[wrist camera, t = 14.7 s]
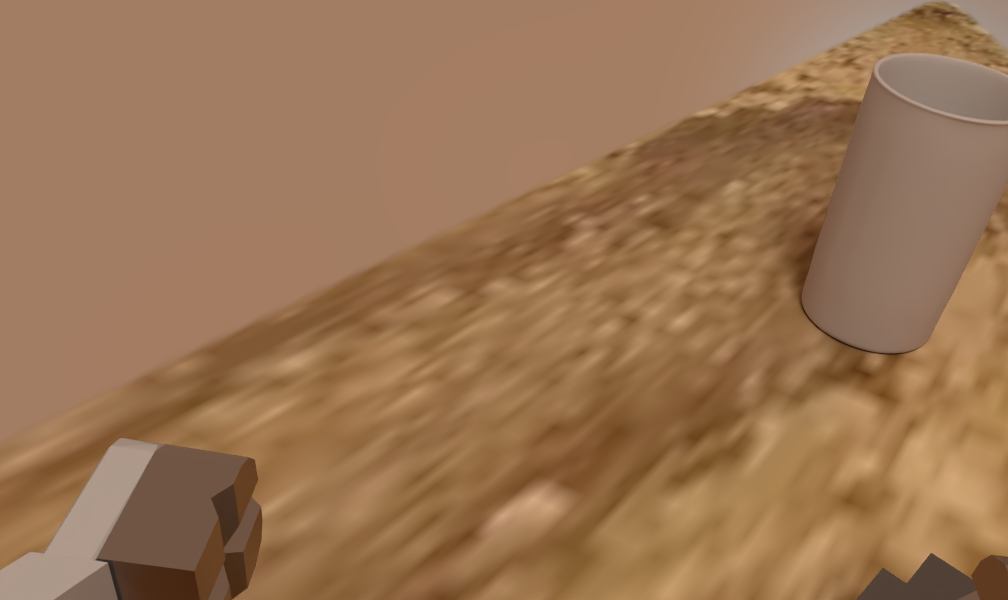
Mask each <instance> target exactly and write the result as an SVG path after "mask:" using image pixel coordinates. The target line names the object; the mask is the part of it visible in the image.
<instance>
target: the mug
mask: <svg viewBox="0 0 1008 600" xmlns="http://www.w3.org/2000/svg"><path fill="white" fill-rule="evenodd" d="M1007 184H1008V75H1006V74H1004V73H1002V72H1000V71H997V70H995V69H992V68H989V67H986V66H984V65H980V64H977V63H974V62H970V61H966V60H962V59H958V58H954V57H949V56H943V55H936V54H926V53H902V54H895V55H890V56H887V57H884V58H882V59H880V60H879V61H877V62H876V64H875V65H874V68H873V72H872V76H871V79H870V81H869V84H868V87H867V90H866V93H865V95H864V98H863V101H862V103H861V106H860V109H859V112H858V115H857V118H856V122H855V125H854V128H853V131H852V134H851V137H850V140H849V144H848V147H847V150H846V153H845V156H844V160H843V163H842V166H841V169H840V172H839V175H838V178H837V182H836V185H835V188H834V191H833V194H832V197H831V201H830V204H829V207H828V210H827V213H826V216H825V219H824V222H823V225H822V229H821V232H820V235H819V238H818V241H817V244H816V247H815V250H814V254H813V258H812V261H811V265H810V268H809V271H808V274H807V278H806V281H805V284H804V287H803V290H802V297H801V300H802V305H803V308H804V310H805V312H806V314H807V315H808V317H809V318H810V319H811V320H812V321H813V323H814V324H815V325H817V326H818V327H819V328H820V329H821V330H823V331H824V332H825V333H827V334H828V335H830V336H832V337H833V338H835V339H837V340H839V341H841V342H843V343H845V344H848V345H850V346H853V347H856V348H859V349H863V350H867V351H871V352H877V353H887V354H895V353H904V352H909V351H912V350H915V349H917V348H919V347H921V346H922V345H924V344H925V343H926V342H927V340H928V339H929V338H930V336H931V334H932V332H933V330H934V328H935V326H936V324H937V322H938V320H939V318H940V316H941V314H942V312H943V310H944V309H945V307H946V305H947V303H948V301H949V299H950V298H951V296H952V294H953V292H954V290H955V288H956V286H957V284H958V282H959V280H960V278H961V276H962V274H963V272H964V270H965V268H966V266H967V264H968V262H969V260H970V258H971V256H972V254H973V252H974V250H975V248H976V246H977V244H978V242H979V240H980V238H981V236H982V234H983V232H984V230H985V228H986V226H987V224H988V222H989V220H990V218H991V216H992V214H993V212H994V210H995V208H996V206H997V204H998V202H999V200H1000V198H1001V196H1002V194H1003V192H1004V190H1005V188H1006V186H1007Z"/></svg>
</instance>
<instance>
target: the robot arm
mask: <svg viewBox="0 0 1008 600" xmlns="http://www.w3.org/2000/svg"><path fill="white" fill-rule="evenodd" d="M257 481H258V476H257V470H256V464H255V460H254V459H252V458H249V457H243V456H237V455H230V454H224V453H218V452H212V451H205V450H199V449H193V448H186V447H180V446H174V445H168V444H158V443H152V442H145V441H138V440H132V439H125V438H120V439H119V440H118V441H116V442H115V443H114V444H113V445H112V446H110V447H109V448H108V449H107V451H106V453H105V454H104V456H103V457H102V459H101V461H100V462H99V464H98V465H97V467H96V469H95V470H94V472H93V474H92V475H91V477H90V478H89V480H88V482H87V483H86V485H85V487H84V488H83V490H82V491H81V493H80V495H79V496H78V498H77V499H76V501H75V503H74V504H73V506H72V508H71V509H70V511H69V512H68V514H67V516H66V517H65V519H64V521H63V522H62V524H61V525H60V527H59V529H58V530H57V532H56V533H55V535H54V537H53V538H52V540H51V542H50V543H49V545H48V546H47V548H46V550H45V551H44V553H39V552H28V553H27V554H25V555H24V556H22V557H20V558H19V559H17V560H16V561H14V562H12V563H11V564H9V565H7V566H6V567H4V568H3V569H1V570H0V600H232V599H233V598H235V597H236V596H237V595H239V594H240V593H241V592H243V591H244V590H245V589H247V588H248V586H249V583H250V580H251V577H252V575H253V572H254V569H255V566H256V562H257V558H258V553H259V549H260V544H261V537H262V512H261V506H260V505H259V504H258V503H257V502H256V501H255V500H254V499H253V498H252V497H251V496H252V494H253V491H254V489H255V486H256V484H257ZM971 576H972V579H973V582H974V585H975V587H976V591H974V592H972V593H970V594H968V595H966V596H964V597H962V598H960V599H958V600H1008V557H1005V556H996V555H990V556H988V557H987V558H985V559H983V560H981V561H980V563H979V564H978V566H977V567H976V569H975V570H974V572H973V574H972V575H971Z"/></svg>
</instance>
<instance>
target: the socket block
mask: <svg viewBox="0 0 1008 600" xmlns="http://www.w3.org/2000/svg"><path fill="white" fill-rule="evenodd" d="M974 591H976V587H975V585H974V582H973V580H972V579H971V578H969V577H968V576H966V575H964V574H963V573H961V572H960V571H958V570H957V569H955V568H954V567H952V566H951V565H949V564H948V563H946V562H945V561H943V560H941V559H940V558H938V557H937V556H935V555H934V554H932V553H931V554H930V555H929V556H928V558H927V559H926V560H925V561H924V563H923V564H922V565H921V566H920V568H919V569H918V570H917V571H916V573H915V574H914V575H913V577H912V578H911V579H910V580H909V582H908V583H907V584H906V583H904V582H903V581H901V580H900V579H899V578H897V577H896V576H894V575H893V574H891V573H890V572H888V571H887V570H885V569H884V568H883V569H882V570H881V571H880V572H879V573H878V575H877V576H876V577H875V578H874V579H873V580H872V582H871V583H870V584H869V585H868V586H867V588H866V589H865V590H864V591H863V592H862V594H861V595H860V596H859V597H858V598H857V600H958V599H960V598H962V597H964V596H966V595H968V594H970V593H972V592H974Z"/></svg>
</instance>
